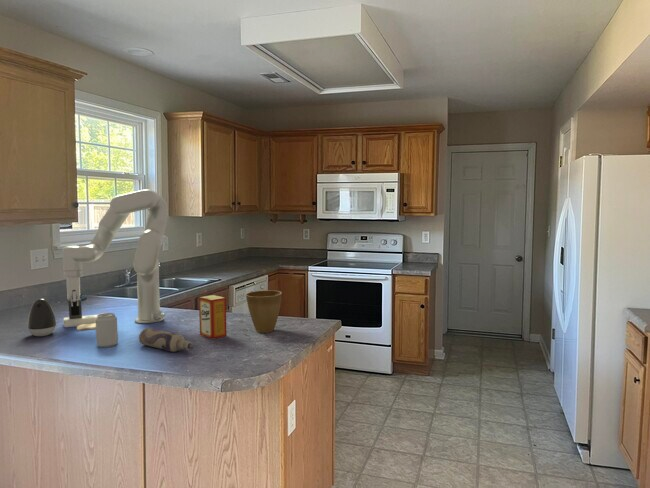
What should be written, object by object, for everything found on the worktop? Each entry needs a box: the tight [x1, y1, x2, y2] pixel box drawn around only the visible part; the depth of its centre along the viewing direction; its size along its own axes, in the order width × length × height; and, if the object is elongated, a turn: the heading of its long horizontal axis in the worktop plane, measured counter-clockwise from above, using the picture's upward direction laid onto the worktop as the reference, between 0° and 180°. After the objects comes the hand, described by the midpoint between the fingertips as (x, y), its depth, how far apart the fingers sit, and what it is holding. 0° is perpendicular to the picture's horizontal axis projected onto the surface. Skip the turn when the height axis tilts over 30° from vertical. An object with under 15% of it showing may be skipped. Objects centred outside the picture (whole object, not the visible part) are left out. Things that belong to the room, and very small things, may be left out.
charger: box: [67, 298, 83, 319], centre depth 221 cm, size 5×4×8 cm
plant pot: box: [245, 289, 282, 334], centre depth 208 cm, size 15×15×16 cm
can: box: [95, 312, 119, 348], centre depth 188 cm, size 8×8×12 cm
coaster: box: [76, 323, 96, 332], centre depth 216 cm, size 8×8×1 cm
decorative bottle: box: [138, 327, 195, 353], centre depth 182 cm, size 26×8×7 cm, turn 57°
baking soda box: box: [198, 294, 228, 340], centre depth 201 cm, size 10×6×16 cm
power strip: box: [63, 312, 104, 328], centre depth 224 cm, size 18×6×5 cm, turn 117°
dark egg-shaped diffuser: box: [27, 298, 57, 337], centre depth 204 cm, size 10×10×15 cm
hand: (75, 313), depth 222 cm, fingers closed on charger, 4 cm apart
